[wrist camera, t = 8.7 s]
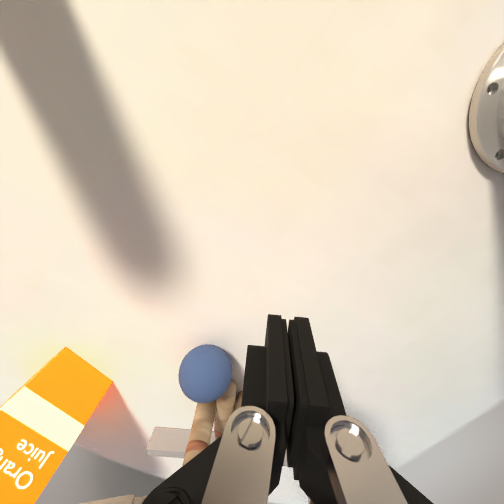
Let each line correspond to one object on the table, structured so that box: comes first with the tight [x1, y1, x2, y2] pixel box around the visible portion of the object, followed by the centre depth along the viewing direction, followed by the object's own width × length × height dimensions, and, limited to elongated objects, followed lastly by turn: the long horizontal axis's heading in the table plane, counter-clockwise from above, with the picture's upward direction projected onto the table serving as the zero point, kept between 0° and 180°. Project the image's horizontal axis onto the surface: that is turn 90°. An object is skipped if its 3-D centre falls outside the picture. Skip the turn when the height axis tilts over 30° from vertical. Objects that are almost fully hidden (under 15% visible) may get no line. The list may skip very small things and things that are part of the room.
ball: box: [179, 345, 232, 403], centre depth 29 cm, size 6×6×6 cm
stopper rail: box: [146, 427, 288, 466], centre depth 35 cm, size 20×1×3 cm, turn 85°
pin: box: [183, 399, 217, 466], centre depth 30 cm, size 2×2×8 cm
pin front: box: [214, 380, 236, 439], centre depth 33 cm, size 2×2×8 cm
